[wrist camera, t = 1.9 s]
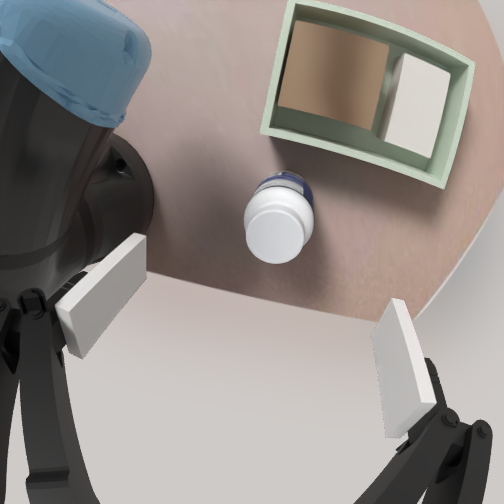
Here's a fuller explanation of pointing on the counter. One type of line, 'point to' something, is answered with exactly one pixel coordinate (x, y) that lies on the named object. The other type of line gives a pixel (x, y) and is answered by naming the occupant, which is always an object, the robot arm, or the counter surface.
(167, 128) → the counter surface
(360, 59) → the walnut block
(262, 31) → the counter surface
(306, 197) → the pill bottle
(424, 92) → the white box
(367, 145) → the box
